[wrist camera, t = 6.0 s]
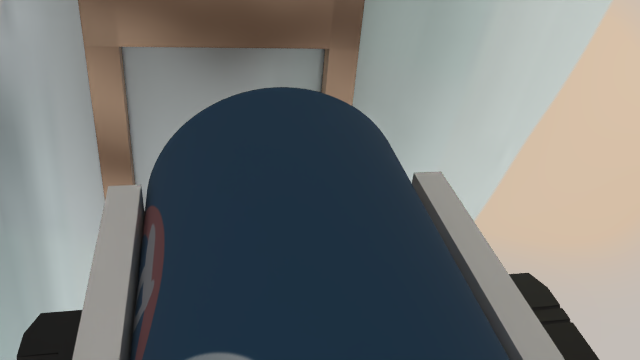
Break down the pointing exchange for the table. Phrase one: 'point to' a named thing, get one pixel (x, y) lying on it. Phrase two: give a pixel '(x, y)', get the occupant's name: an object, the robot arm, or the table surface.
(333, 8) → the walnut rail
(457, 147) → the table surface
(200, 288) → the soda can
